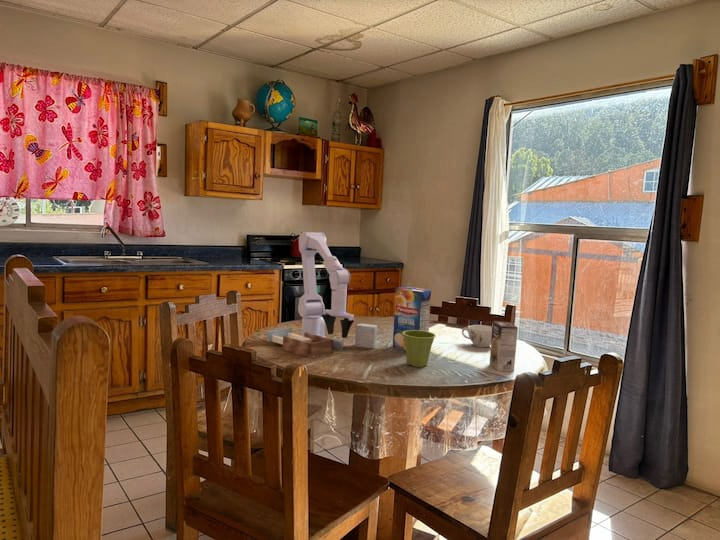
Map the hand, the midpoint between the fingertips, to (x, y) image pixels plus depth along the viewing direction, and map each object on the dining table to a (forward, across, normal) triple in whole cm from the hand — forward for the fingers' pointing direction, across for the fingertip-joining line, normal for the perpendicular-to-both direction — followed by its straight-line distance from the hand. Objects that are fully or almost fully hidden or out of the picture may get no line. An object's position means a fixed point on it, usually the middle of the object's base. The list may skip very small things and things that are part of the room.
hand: (337, 335), depth 212 cm
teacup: (+6, +32, +52) cm, 62 cm away
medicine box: (+6, +4, +12) cm, 14 cm away
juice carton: (+6, +17, +24) cm, 30 cm away
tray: (+4, -15, -11) cm, 19 cm away
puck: (+5, 0, 0) cm, 5 cm away
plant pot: (+6, +33, +8) cm, 34 cm away
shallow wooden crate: (+5, -6, -11) cm, 13 cm away
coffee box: (+6, +55, +28) cm, 62 cm away
